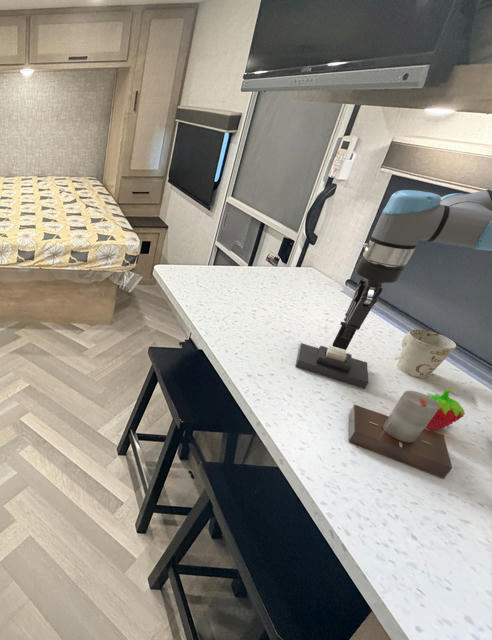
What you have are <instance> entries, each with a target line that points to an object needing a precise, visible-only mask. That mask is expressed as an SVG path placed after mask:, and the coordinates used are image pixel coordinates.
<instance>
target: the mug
mask: <svg viewBox="0 0 492 640" xmlns="http://www.w3.org/2000/svg"><path fill="white" fill-rule="evenodd" d="M456 347H457V344H456V343H455V341H454V340H452V339H450V338H449V337H447V336H446V335H442V334H439V333H437V332H433V331H430V330H425V329H411V330H409V331H408V332H407V333H406V334H405V335H404V336H403V338H402V340H401V352H400V354H399V358H398V360H397V363H396V367H397V369H398V370H399V371H401V372H402V373H404V374H406V375H408V376H412V377H416V378H418V379H419V378H420V379H426V378H428V377H430V375H432V373H434V371H435V370H436V369H437V368H439V366H440V365H441V364H442V363H443V362H444V361H445V360H446V359H447V358H448V356H450V355H451V354H452V352H453V351H454V350H455V349H456Z"/></svg>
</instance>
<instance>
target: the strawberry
mask: <svg viewBox="0 0 492 640" xmlns="http://www.w3.org/2000/svg"><path fill="white" fill-rule="evenodd" d="M452 391H453V389H452V388H447V389H445V390H444V391H443V393H442V394H441V395H438V394H431V393H429V394H427V395H428V396H430V397H432V398H433V399H435V400H436V401H437V402H438V403H439V404H440V407H439V409H438V410H437V412H436V413H435V415H434V416H433V417H432V419H431V420H430V422H429V423H428V424H427V426H426V427H425V428H426V429H427V430H431V431H433V430H441V429H445V428H446V427H449V426H450V425H453V423H456V421H457V422H458V421H459V420H460V419H462V418H464V416H465V414H466V413H465V409H464V408H463V407H462V405H461V404H460V403H459V402H458V401H457V400H455V399H453V398H451V397H450V393H451V392H452Z"/></svg>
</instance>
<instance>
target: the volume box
mask: <svg viewBox="0 0 492 640" xmlns="http://www.w3.org/2000/svg"><path fill="white" fill-rule="evenodd" d="M388 417H389V415H386V414H383V413H380V412H377V411H375V410H372V409H369V408H366V407H364V406H360V405H357V404H353V405H352V408H351V409H350V411H349V413H348V443H351V444H353V445H355V446H358V447H361V448H364V449H366V450H369V451H372V452H374V453H377V454H379V455H382V456H384V457H387V458H389V459H391V460H394V461H397V462H400V463H403V464H405V465H407V466H410V467H413V468H414V469H418V470H420V471H423V472H426V473H429V474H430V475H434V476H436V477H439V478H441V479H445V478H446V477H447V475H448V474H449V473H450V472H451V471H452V469H453V466H452V462H451V461H452V460H451V458H450V454H449V453H450V452H449V451H448V447H447V443H446V439H445V436H444V434H442V433H438V432H436V431H433V430H431V429H428V428H425V429H424V430H423V432H422V433H421V434H420V436H419V437H418V439H417V440H416V441H415V442H413V443H408V442H403V441H400V440H398V439H395V438H394V437H392V436H390V435H389V434H388V433H386V432H385V431H384V429H383V425H384V423H385V422H386V420H387V419H388Z"/></svg>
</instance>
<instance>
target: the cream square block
mask: <svg viewBox="0 0 492 640" xmlns="http://www.w3.org/2000/svg"><path fill="white" fill-rule="evenodd" d="M327 348H328V349H327V351H326V357H328V358H332V359H335V360H338V361H342V362H344V361H345V359H346V353H347V350H344V349H340V348H337V347H333V346H331V345H328V347H327Z"/></svg>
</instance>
